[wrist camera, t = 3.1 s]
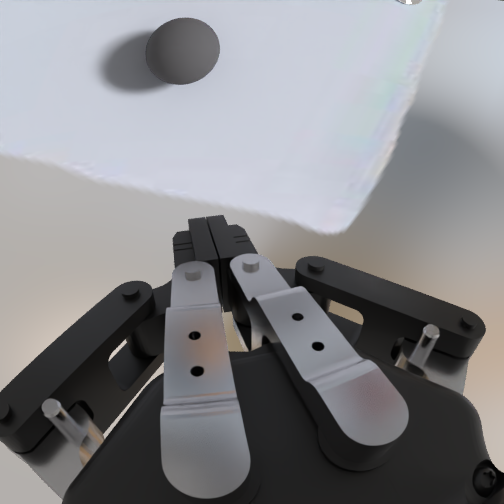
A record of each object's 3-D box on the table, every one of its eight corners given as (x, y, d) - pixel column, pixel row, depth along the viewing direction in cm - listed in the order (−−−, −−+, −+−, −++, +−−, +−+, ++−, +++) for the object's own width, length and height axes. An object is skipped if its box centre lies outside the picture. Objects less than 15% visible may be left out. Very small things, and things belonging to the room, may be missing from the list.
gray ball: (148, 29, 18) (143, 13, 14) (214, 24, 20) (225, 8, 15) (149, 89, 21) (143, 87, 17) (214, 83, 22) (226, 81, 18)
